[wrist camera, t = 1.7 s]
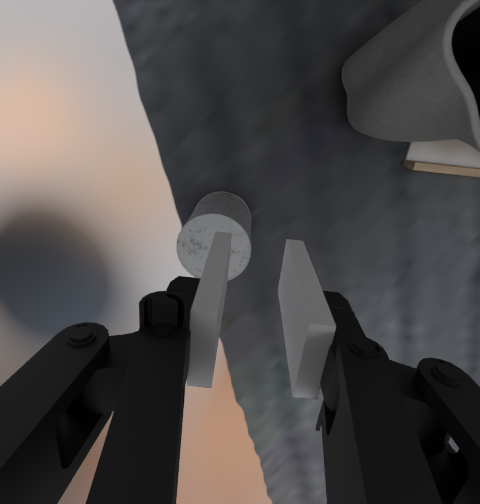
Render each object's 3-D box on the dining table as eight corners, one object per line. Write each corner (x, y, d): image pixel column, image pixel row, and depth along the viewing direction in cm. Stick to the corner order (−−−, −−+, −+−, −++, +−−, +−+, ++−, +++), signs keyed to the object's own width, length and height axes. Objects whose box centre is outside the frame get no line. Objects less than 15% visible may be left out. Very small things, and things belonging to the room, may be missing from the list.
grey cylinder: (224, 178, 50) (216, 197, 39) (263, 223, 53) (266, 254, 42) (180, 217, 53) (160, 245, 42) (220, 258, 56) (211, 295, 44)
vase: (313, 68, 44) (414, -7, 16) (403, 16, 41) (703, -175, 14) (345, 152, 48) (470, 206, 20) (429, 110, 45) (702, 106, 18)
